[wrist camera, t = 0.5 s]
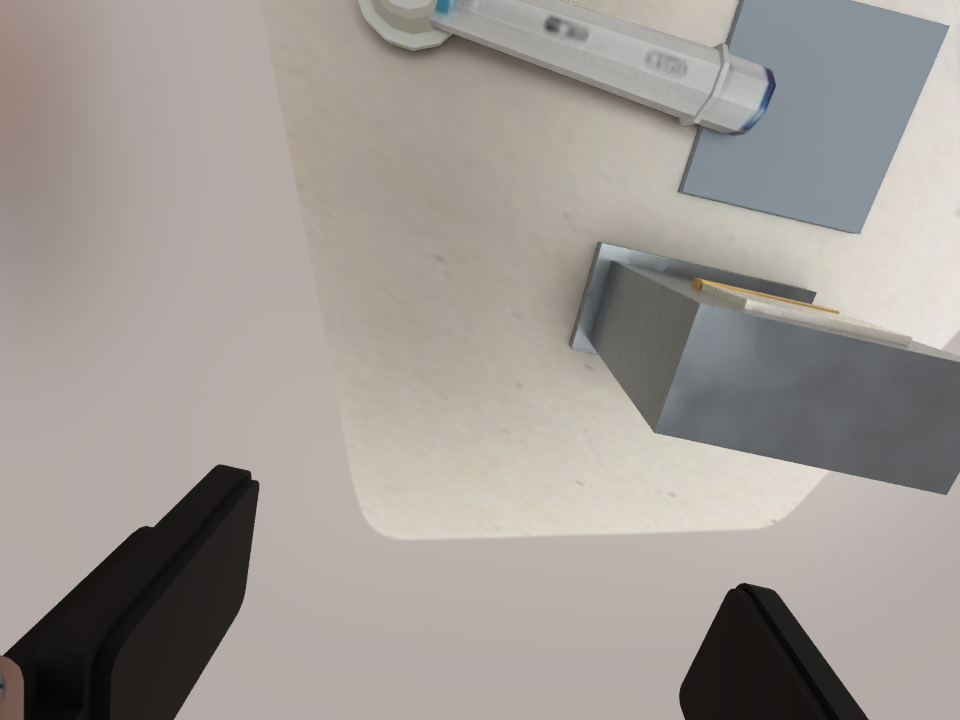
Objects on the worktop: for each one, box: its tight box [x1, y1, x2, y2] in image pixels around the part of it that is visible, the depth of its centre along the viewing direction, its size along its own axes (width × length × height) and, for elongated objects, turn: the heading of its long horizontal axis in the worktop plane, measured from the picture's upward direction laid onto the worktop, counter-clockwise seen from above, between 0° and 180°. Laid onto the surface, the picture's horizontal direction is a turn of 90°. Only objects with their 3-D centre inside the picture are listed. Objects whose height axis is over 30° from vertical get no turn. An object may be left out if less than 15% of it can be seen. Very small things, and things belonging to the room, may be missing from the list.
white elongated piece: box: [358, 0, 776, 136], centre depth 31 cm, size 5×7×25 cm
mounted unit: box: [569, 242, 960, 495], centre depth 30 cm, size 8×16×17 cm, turn 77°
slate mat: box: [679, 0, 950, 234], centre depth 34 cm, size 13×13×1 cm
